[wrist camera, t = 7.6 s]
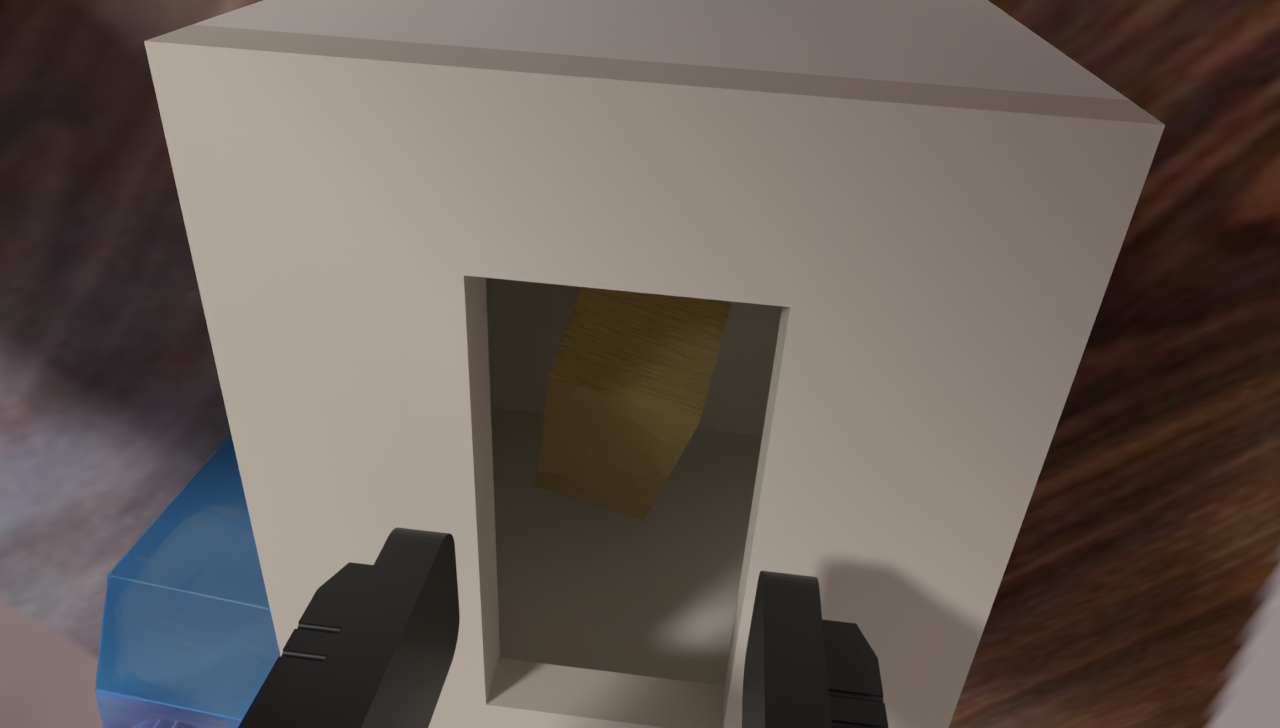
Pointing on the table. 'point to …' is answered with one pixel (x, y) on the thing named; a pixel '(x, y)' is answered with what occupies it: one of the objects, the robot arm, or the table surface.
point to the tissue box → (657, 264)
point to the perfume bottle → (188, 613)
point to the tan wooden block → (626, 395)
